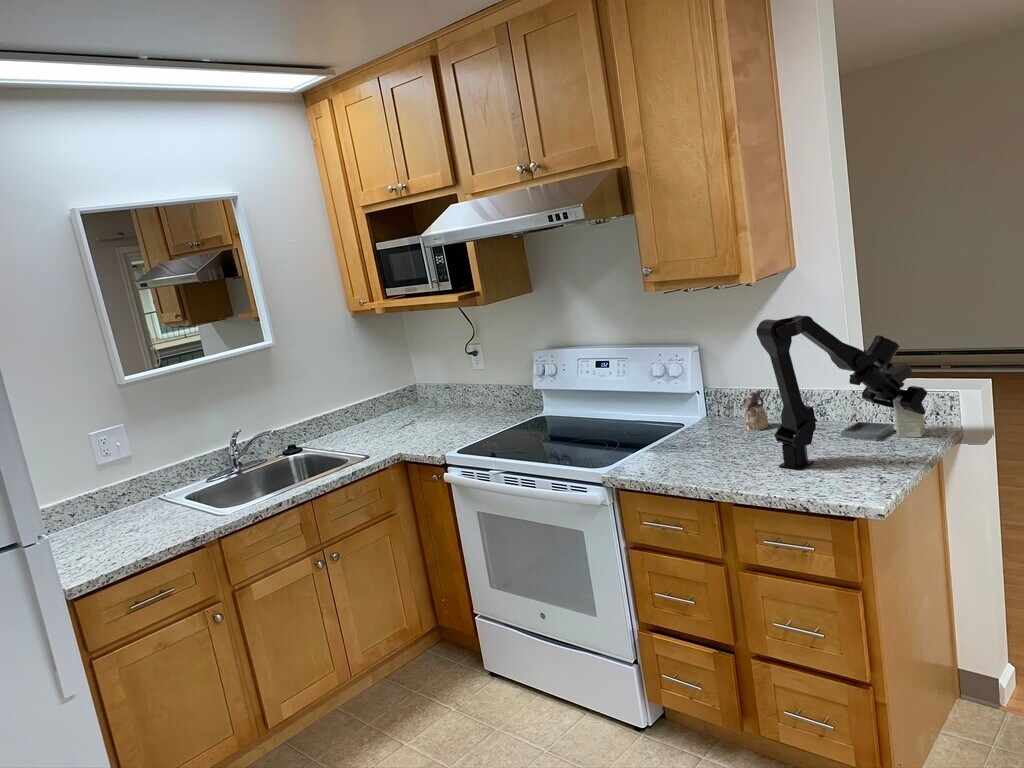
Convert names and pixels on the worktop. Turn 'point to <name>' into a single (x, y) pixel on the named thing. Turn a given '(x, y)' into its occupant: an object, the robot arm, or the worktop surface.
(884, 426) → the square gray open tray
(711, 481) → the worktop surface
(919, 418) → the skincare box
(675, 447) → the worktop surface
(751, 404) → the figurine
